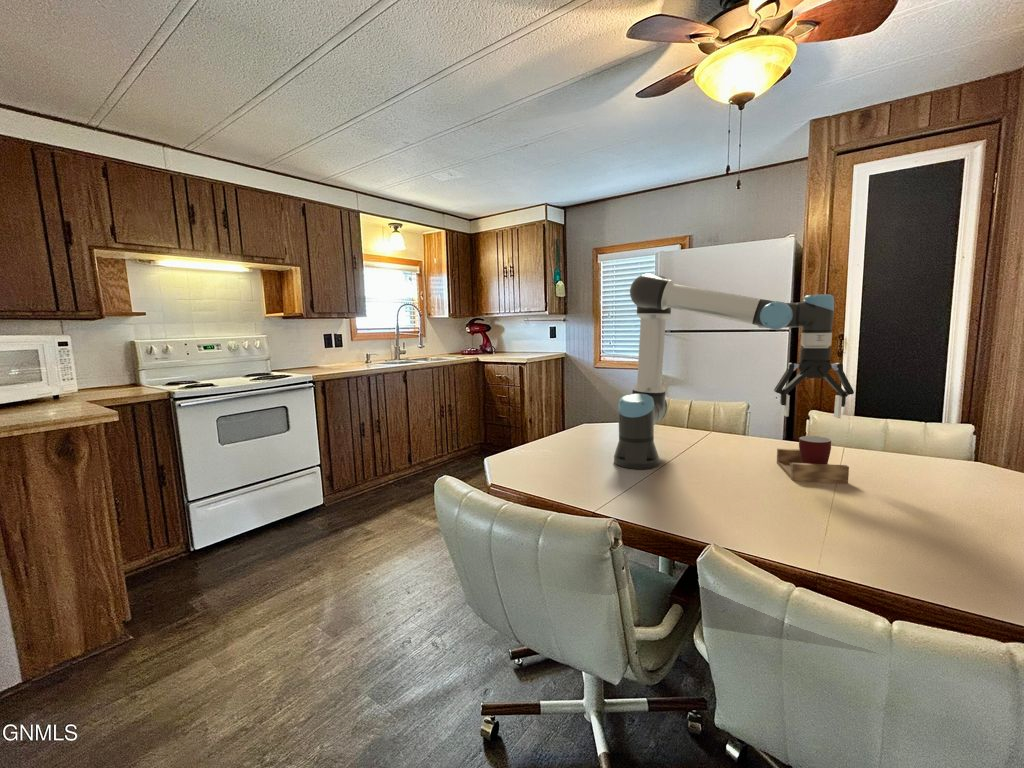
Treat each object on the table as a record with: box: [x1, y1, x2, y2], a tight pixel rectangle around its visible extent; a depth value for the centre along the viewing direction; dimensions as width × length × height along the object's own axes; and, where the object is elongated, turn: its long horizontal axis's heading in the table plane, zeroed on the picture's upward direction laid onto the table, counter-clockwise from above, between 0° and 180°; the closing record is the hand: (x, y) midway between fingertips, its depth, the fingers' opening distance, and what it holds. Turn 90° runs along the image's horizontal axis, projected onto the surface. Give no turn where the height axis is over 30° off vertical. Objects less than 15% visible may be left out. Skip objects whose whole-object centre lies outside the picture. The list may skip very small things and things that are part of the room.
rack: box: [776, 448, 850, 484], centre depth 136 cm, size 14×17×5 cm
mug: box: [798, 435, 832, 464], centre depth 135 cm, size 11×8×10 cm
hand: (811, 416), depth 134 cm, fingers open, 13 cm apart
